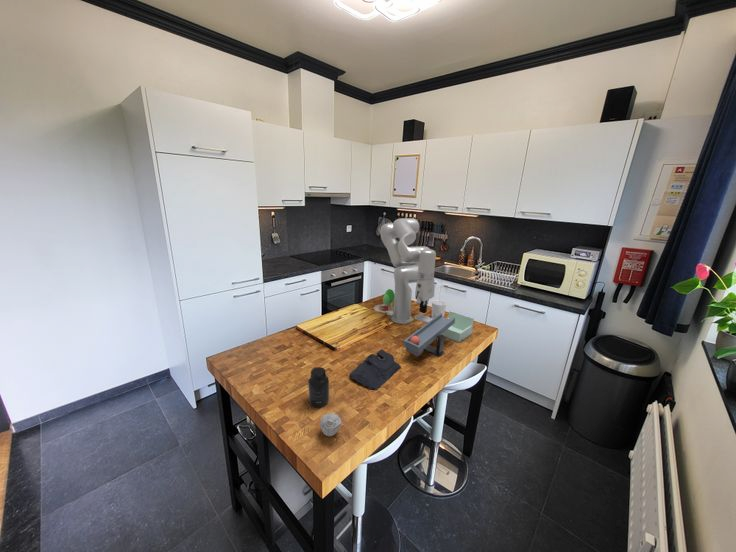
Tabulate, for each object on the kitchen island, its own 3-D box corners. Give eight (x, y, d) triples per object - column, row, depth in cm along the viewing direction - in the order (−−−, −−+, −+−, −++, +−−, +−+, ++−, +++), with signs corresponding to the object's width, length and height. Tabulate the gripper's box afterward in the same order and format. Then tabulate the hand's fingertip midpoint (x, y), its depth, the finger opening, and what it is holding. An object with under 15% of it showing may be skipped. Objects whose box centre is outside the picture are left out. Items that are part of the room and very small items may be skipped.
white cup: (443, 316, 171) (444, 300, 168) (445, 321, 163) (447, 305, 160) (429, 315, 171) (431, 299, 169) (431, 321, 164) (432, 304, 161)
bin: (435, 333, 149) (436, 317, 147) (448, 325, 159) (449, 310, 156) (459, 343, 140) (461, 326, 138) (471, 334, 150) (473, 318, 147)
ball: (409, 346, 122) (409, 338, 120) (410, 341, 125) (410, 333, 124) (419, 347, 121) (419, 339, 119) (420, 342, 124) (420, 334, 123)
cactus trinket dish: (386, 283, 186) (402, 289, 176) (385, 302, 190) (401, 309, 180) (369, 287, 177) (384, 293, 167) (368, 307, 181) (383, 315, 170)
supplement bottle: (310, 394, 102) (309, 365, 98) (329, 394, 102) (329, 364, 99) (307, 408, 95) (306, 377, 92) (328, 407, 96) (328, 376, 92)
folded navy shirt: (342, 378, 112) (342, 367, 111) (373, 354, 129) (373, 344, 128) (375, 394, 104) (376, 382, 102) (403, 365, 121) (404, 355, 120)
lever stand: (414, 346, 136) (415, 328, 134) (420, 342, 140) (421, 325, 137) (438, 357, 127) (440, 338, 125) (444, 353, 131) (446, 335, 128)
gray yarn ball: (331, 447, 81) (330, 427, 79) (315, 433, 85) (314, 414, 84) (346, 434, 86) (346, 414, 84) (330, 422, 90) (330, 403, 88)
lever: (389, 343, 131) (389, 333, 129) (427, 317, 150) (427, 308, 148) (418, 357, 120) (418, 347, 118) (454, 327, 139) (455, 317, 137)
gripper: (423, 280, 127) (420, 318, 132) (441, 274, 137) (437, 310, 142) (409, 277, 132) (407, 314, 137) (427, 271, 142) (424, 306, 147)
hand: (422, 312), depth 139 cm, fingers closed
